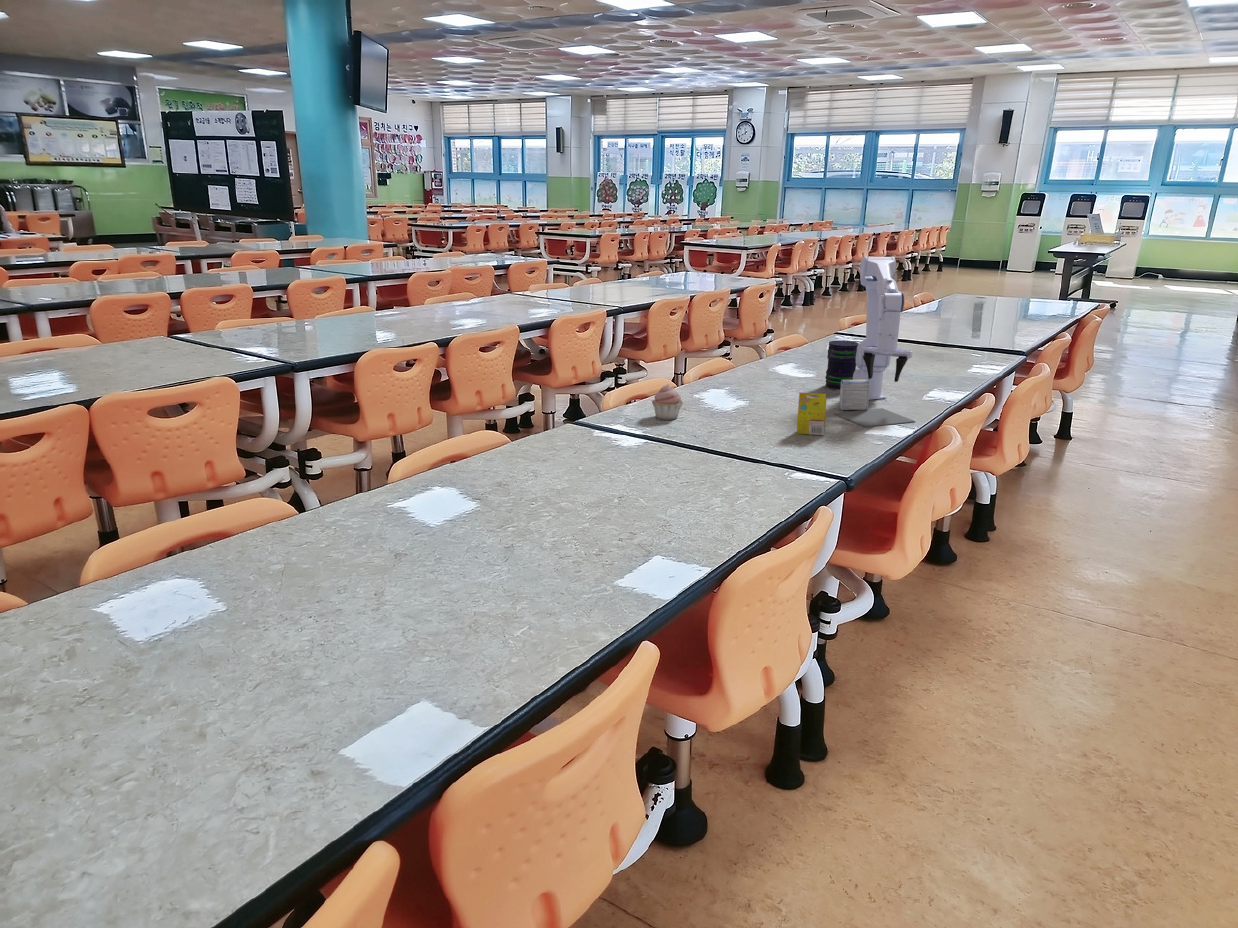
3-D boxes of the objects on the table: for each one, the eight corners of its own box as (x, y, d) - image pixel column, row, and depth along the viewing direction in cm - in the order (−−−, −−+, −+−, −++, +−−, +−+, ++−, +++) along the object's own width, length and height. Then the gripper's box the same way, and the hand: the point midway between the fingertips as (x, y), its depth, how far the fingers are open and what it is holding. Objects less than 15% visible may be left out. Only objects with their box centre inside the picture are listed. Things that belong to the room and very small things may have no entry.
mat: (833, 413, 247) (833, 412, 247) (882, 409, 253) (882, 408, 253) (864, 427, 234) (864, 426, 233) (915, 422, 239) (915, 421, 239)
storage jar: (824, 389, 277) (828, 344, 272) (824, 382, 286) (828, 339, 281) (855, 391, 275) (859, 346, 270) (854, 384, 284) (858, 341, 279)
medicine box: (865, 407, 254) (867, 379, 252) (868, 410, 250) (870, 382, 247) (839, 407, 255) (840, 379, 252) (841, 410, 250) (843, 381, 248)
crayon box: (824, 433, 228) (827, 391, 225) (824, 435, 226) (827, 394, 222) (797, 430, 230) (800, 389, 227) (796, 433, 228) (799, 392, 224)
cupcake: (680, 422, 238) (681, 388, 235) (648, 420, 240) (649, 387, 237) (685, 414, 247) (685, 381, 244) (653, 412, 249) (654, 380, 246)
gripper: (859, 334, 243) (855, 379, 248) (910, 338, 236) (905, 385, 241) (865, 330, 249) (861, 374, 254) (915, 334, 242) (910, 380, 247)
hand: (883, 379), depth 248 cm, fingers open, 7 cm apart
